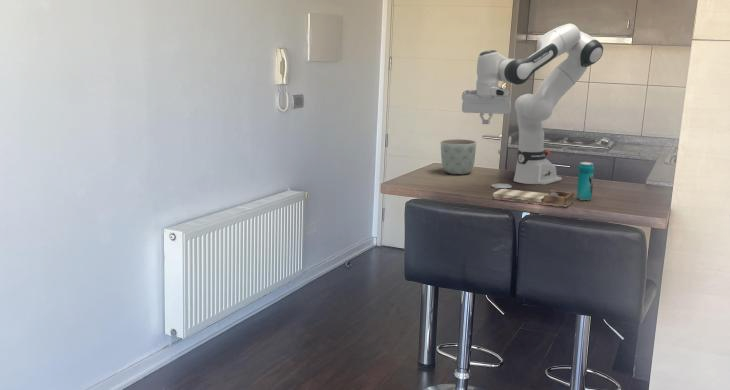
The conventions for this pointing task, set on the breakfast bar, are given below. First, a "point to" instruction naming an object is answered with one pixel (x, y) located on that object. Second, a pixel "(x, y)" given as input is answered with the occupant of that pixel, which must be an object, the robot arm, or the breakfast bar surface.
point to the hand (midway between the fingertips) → (485, 124)
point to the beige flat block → (519, 195)
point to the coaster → (501, 186)
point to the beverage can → (585, 180)
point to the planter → (458, 155)
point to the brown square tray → (558, 198)
